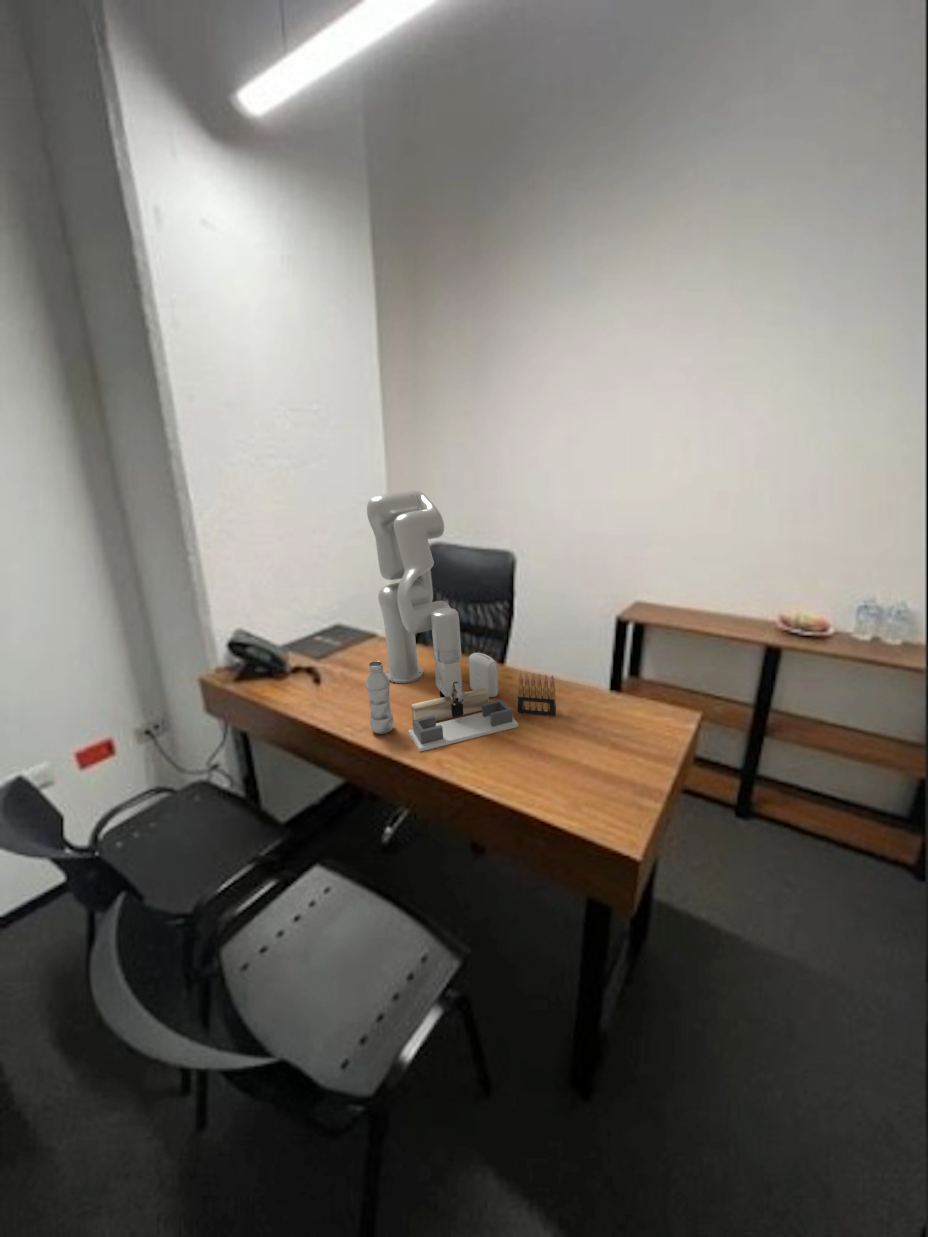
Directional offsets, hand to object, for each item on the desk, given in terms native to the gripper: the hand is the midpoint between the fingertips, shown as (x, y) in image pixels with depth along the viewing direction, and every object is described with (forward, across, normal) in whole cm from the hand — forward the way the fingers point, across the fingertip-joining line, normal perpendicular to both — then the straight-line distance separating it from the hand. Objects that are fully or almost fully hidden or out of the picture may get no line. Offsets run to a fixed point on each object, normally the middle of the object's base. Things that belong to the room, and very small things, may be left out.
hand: (451, 708), depth 161 cm
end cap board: (+2, +9, 0) cm, 9 cm away
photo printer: (+2, -9, +14) cm, 17 cm away
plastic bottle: (+2, 0, -20) cm, 20 cm away
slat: (+2, 0, 0) cm, 2 cm away
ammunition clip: (+2, +10, +22) cm, 24 cm away
